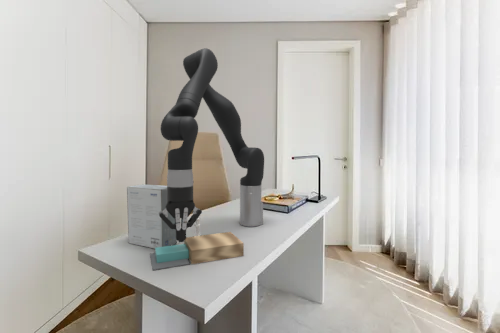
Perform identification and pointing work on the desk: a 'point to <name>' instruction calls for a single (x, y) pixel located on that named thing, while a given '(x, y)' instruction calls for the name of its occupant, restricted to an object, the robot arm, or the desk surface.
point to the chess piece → (197, 227)
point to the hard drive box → (148, 216)
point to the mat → (167, 263)
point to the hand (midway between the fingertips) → (180, 241)
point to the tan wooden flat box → (213, 247)
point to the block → (171, 253)
